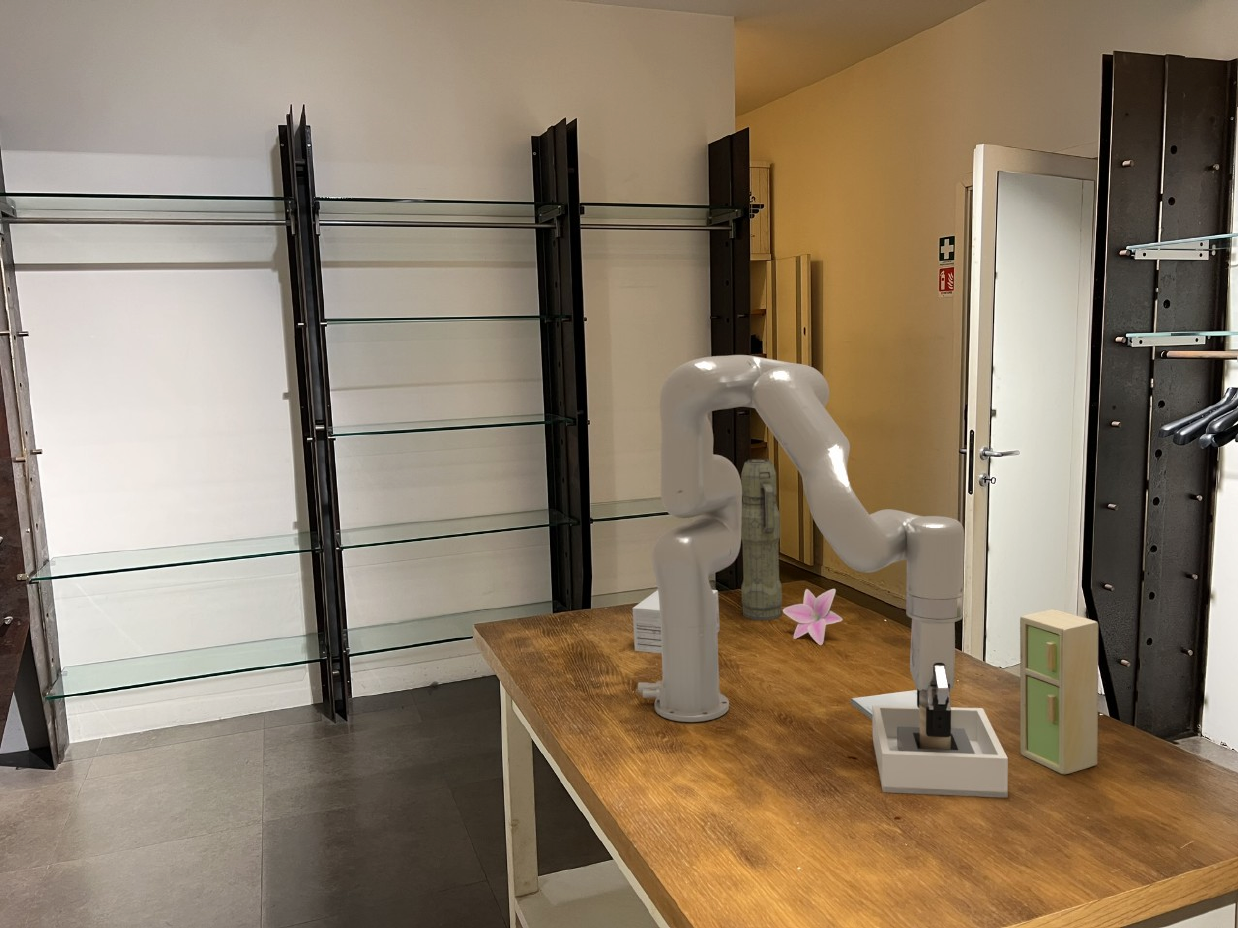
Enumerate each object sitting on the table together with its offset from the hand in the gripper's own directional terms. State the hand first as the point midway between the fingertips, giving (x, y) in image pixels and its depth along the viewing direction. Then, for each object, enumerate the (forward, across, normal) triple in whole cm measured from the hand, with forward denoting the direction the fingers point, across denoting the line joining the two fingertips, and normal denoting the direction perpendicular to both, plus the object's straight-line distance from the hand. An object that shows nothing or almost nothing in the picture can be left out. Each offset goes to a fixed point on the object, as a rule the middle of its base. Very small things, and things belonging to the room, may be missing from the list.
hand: (933, 721), depth 134 cm
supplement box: (+8, -54, -44) cm, 70 cm away
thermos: (+7, -73, -27) cm, 78 cm away
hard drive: (+8, -21, -3) cm, 23 cm away
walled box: (+7, 0, 0) cm, 7 cm away
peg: (+6, 0, 0) cm, 6 cm away
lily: (+7, -58, -16) cm, 61 cm away
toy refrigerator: (+7, -3, +17) cm, 19 cm away
